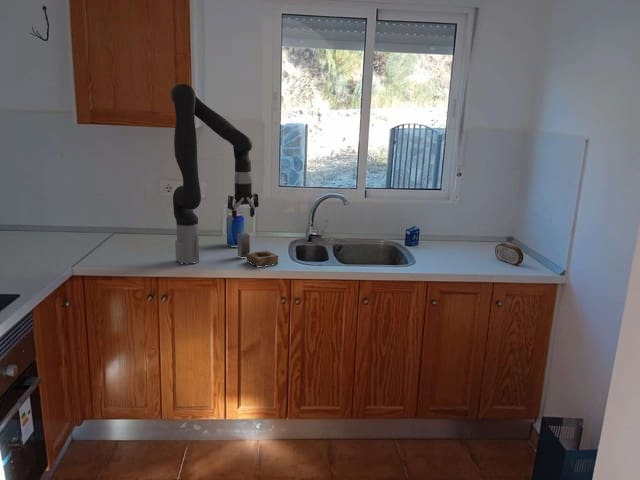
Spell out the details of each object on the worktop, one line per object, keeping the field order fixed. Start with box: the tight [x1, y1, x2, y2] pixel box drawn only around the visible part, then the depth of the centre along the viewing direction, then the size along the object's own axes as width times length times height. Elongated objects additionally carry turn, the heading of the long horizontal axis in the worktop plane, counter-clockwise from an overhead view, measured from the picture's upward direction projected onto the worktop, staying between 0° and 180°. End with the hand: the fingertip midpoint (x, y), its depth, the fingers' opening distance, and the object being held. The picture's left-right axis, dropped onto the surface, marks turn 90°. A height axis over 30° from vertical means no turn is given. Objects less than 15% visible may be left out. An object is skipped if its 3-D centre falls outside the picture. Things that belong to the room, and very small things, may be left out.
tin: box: [494, 242, 524, 266], centre depth 251 cm, size 15×3×8 cm, turn 30°
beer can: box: [226, 212, 245, 247], centre depth 263 cm, size 8×8×16 cm
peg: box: [237, 232, 251, 257], centre depth 245 cm, size 4×4×11 cm
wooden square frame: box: [246, 250, 279, 266], centre depth 238 cm, size 10×10×4 cm
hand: (243, 217), depth 241 cm, fingers open, 8 cm apart
